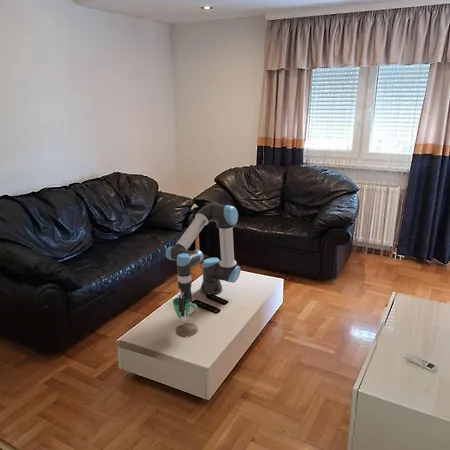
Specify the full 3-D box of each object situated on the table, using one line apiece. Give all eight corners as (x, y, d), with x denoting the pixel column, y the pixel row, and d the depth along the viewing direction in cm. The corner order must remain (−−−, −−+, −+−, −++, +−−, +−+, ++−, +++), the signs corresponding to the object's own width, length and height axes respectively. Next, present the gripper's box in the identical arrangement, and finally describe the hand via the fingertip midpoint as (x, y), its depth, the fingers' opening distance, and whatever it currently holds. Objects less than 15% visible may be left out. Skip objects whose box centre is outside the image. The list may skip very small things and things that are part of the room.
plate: (180, 322, 239) (179, 321, 239) (200, 325, 237) (200, 324, 236) (172, 335, 227) (172, 333, 227) (193, 338, 225) (193, 336, 224)
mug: (170, 318, 227) (169, 303, 224) (178, 310, 236) (177, 295, 233) (193, 323, 222) (193, 308, 219) (201, 315, 231) (200, 299, 227)
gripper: (184, 272, 233) (186, 306, 240) (171, 288, 213) (173, 325, 220) (196, 273, 231) (197, 307, 238) (184, 290, 211) (186, 327, 218)
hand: (186, 316), depth 229 cm, fingers closed on mug, 9 cm apart
